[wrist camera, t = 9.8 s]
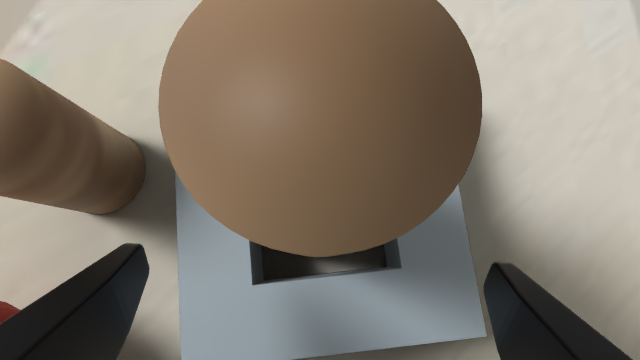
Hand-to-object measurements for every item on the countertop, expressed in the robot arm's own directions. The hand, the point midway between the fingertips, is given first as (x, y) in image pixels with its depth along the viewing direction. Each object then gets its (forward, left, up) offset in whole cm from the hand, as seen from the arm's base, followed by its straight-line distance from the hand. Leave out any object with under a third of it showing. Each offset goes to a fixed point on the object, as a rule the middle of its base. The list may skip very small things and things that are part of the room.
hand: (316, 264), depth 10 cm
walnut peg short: (+5, +10, -7) cm, 13 cm away
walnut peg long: (+2, 0, -7) cm, 8 cm away
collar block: (+2, 0, -7) cm, 8 cm away
